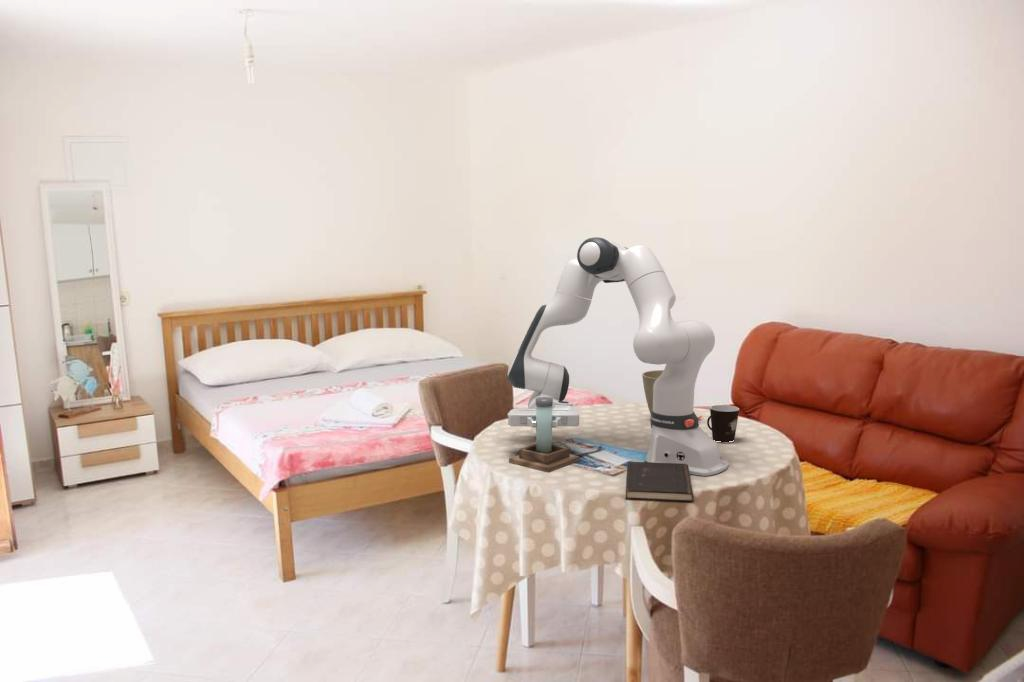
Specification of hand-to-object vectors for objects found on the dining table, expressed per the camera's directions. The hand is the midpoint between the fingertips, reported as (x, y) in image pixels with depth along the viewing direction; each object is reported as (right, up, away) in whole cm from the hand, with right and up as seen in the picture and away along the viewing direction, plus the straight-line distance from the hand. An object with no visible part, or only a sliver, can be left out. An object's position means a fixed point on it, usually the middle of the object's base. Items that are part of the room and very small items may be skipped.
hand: (544, 424), depth 233 cm
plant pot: (+42, -4, +47) cm, 63 cm away
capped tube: (0, -7, +2) cm, 8 cm away
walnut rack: (0, -10, +2) cm, 11 cm away
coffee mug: (+54, -7, +23) cm, 59 cm away
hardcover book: (+28, -14, -19) cm, 37 cm away
